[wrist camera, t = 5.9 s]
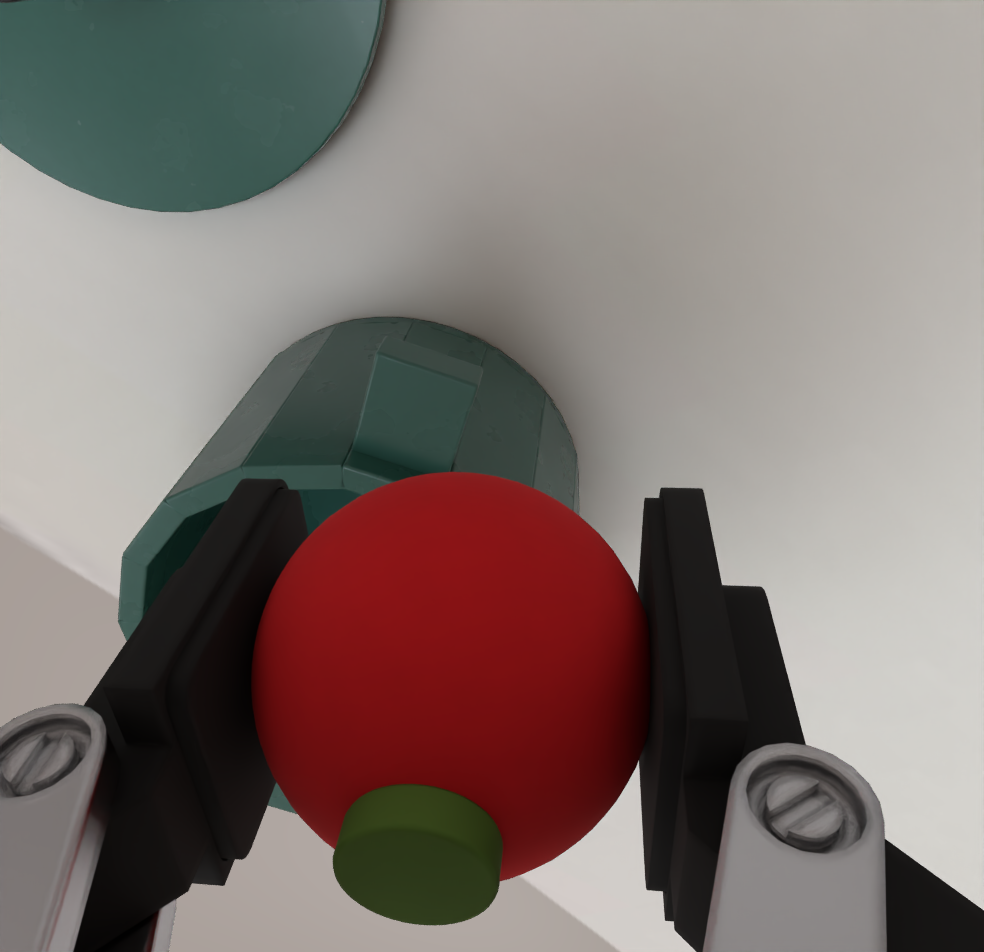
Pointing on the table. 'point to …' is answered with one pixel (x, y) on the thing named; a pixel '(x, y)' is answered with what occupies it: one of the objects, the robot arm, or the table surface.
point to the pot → (359, 437)
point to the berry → (450, 688)
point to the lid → (179, 92)
